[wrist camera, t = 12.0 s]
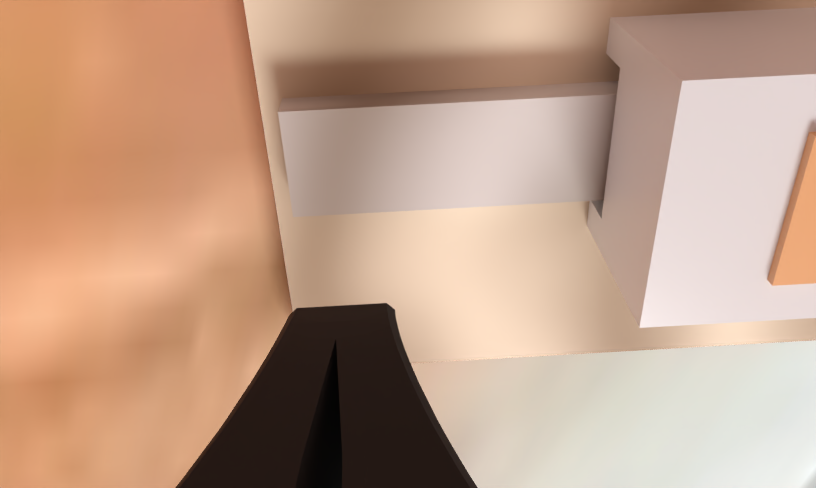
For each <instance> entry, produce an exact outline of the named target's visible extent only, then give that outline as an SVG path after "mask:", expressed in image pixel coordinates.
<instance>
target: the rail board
mask: <svg viewBox="0 0 816 488" xmlns="http://www.w3.org/2000/svg"><path fill="white" fill-rule="evenodd" d="M243 2H244V8H245V14H246V20H247V27H248V33H249V39H250V46H251V52H252V58H253V65H254V71H255V77H256V84H257V90H258V96H259V103H260V109H261V115H262V121H263V128H264V134H265V140H266V147H267V153H268V159H269V166H270V172H271V178H272V185H273V191H274V197H275V204H276V210H277V216H278V222H279V229H280V235H281V241H282V248H283V254H284V260H285V267H286V273H287V279H288V286H289V292H290V298H291V304H292V311H294V310H295V309H296V308H305V307H323V306H341V305H359V304H377V303H387V304H389V305H390V306H391V307H392V308H394V309H395V315H396V321H397V325H398V329H399V333H400V336H401V339H402V342H403V345H404V348H405V351H406V353H407V356H408V358H409V361H410V363H428V362H445V361H462V360H480V359H497V358H514V357H532V356H549V355H566V354H584V353H601V352H619V351H636V350H653V349H671V348H688V347H705V346H723V345H740V344H757V343H775V342H792V341H809V340H816V318H806V319H789V320H771V321H753V322H735V323H718V324H700V325H682V326H664V327H647V328H639V326H638V324H637V322H636V320H635V318H634V316H633V314H632V313H631V311H630V309H629V307H628V305H627V303H626V301H625V299H624V297H623V295H622V293H621V291H620V289H619V287H618V285H617V283H616V281H615V279H614V277H613V275H612V273H611V272H610V270H609V268H608V266H607V264H606V262H605V260H604V258H603V256H602V254H601V252H600V250H599V248H598V246H597V244H596V242H595V240H594V238H593V236H592V234H591V232H590V231H589V229H588V227H587V220H588V211H589V202H590V201H598V200H604V194H605V186H606V178H607V170H608V162H609V154H610V146H611V138H612V130H613V121H614V113H615V105H616V97H617V89H618V81H619V73H620V67H619V66H618V65H617V64H616V63H615V62H614V61H613V60H612V59H611V58H610V57H609V56H608V55H607V54H606V50H607V41H608V32H609V23H610V17H629V16H649V15H669V14H689V13H709V12H729V11H749V10H770V9H790V8H810V7H816V0H243Z"/></svg>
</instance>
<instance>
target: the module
mask: <svg viewBox="0 0 816 488" xmlns="http://www.w3.org/2000/svg"><path fill="white" fill-rule="evenodd" d="M606 54H607V55H608V56H609V57H610V58H611V59H612V60H613V61H614V62H615V63H616V64H617V65H618V66H619V67H620V73H619V81H618V89H617V97H616V105H615V113H614V121H613V130H612V138H611V146H610V154H609V162H608V170H607V178H606V186H605V194H604V200H598V201H590V202H589V211H588V220H587V227H588V229H589V231H590V232H591V234H592V236H593V238H594V240H595V242H596V244H597V246H598V248H599V250H600V252H601V254H602V256H603V258H604V260H605V262H606V264H607V266H608V268H609V270H610V272H611V273H612V275H613V277H614V279H615V281H616V283H617V285H618V287H619V289H620V291H621V293H622V295H623V297H624V299H625V301H626V303H627V305H628V307H629V309H630V311H631V313H632V314H633V316H634V318H635V320H636V322H637V324H638V326H639V328H647V327H664V326H682V325H700V324H718V323H735V322H753V321H771V320H789V319H806V318H816V7H810V8H790V9H770V10H749V11H729V12H709V13H689V14H669V15H649V16H629V17H610V23H609V32H608V41H607V50H606Z"/></svg>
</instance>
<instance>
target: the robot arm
mask: <svg viewBox="0 0 816 488" xmlns="http://www.w3.org/2000/svg"><path fill="white" fill-rule="evenodd" d="M176 488H477V486H476V485H475V483H474V481H473V480H472V478H471V477H470V475H469V474H468V472H467V470H466V469H465V467H464V465H463V464H462V462H461V460H460V459H459V457H458V455H457V454H456V452H455V450H454V449H453V447H452V445H451V444H450V442H449V440H448V438H447V437H446V435H445V433H444V431H443V429H442V428H441V426H440V424H439V422H438V420H437V418H436V416H435V414H434V412H433V410H432V408H431V406H430V404H429V402H428V400H427V398H426V396H425V394H424V392H423V390H422V388H421V386H420V384H419V382H418V380H417V378H416V375H415V373H414V371H413V368H412V366H411V363H410V361H409V358H408V356H407V353H406V351H405V348H404V345H403V342H402V339H401V336H400V333H399V329H398V325H397V321H396V315H395V309H394V308H392V307H391V306H390V305H389V304H387V303H377V304H359V305H341V306H323V307H305V308H296V309H295V310H294V311H293V312H292V313H291V314H290V315H289V317H288V319H287V321H286V323H285V325H284V327H283V329H282V331H281V332H280V334H279V336H278V338H277V340H276V341H275V343H274V345H273V347H272V348H271V350H270V352H269V354H268V355H267V357H266V359H265V360H264V362H263V364H262V365H261V367H260V369H259V370H258V372H257V373H256V375H255V377H254V378H253V380H252V381H251V383H250V385H249V386H248V388H247V389H246V391H245V392H244V394H243V395H242V397H241V398H240V400H239V401H238V403H237V404H236V406H235V407H234V409H233V410H232V412H231V413H230V415H229V416H228V418H227V419H226V421H225V422H224V424H223V425H222V426H221V428H220V429H219V431H218V432H217V433H216V435H215V436H214V437H213V439H212V440H211V441H210V443H209V444H208V446H207V447H206V448H205V450H204V451H203V452H202V454H201V455H200V456H199V458H198V459H197V460H196V462H195V463H194V464H193V466H192V467H191V468H190V470H189V471H188V472H187V474H186V475H185V476H184V478H183V479H182V480H181V481H180V483H179V484H178V485H177V487H176Z"/></svg>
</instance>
